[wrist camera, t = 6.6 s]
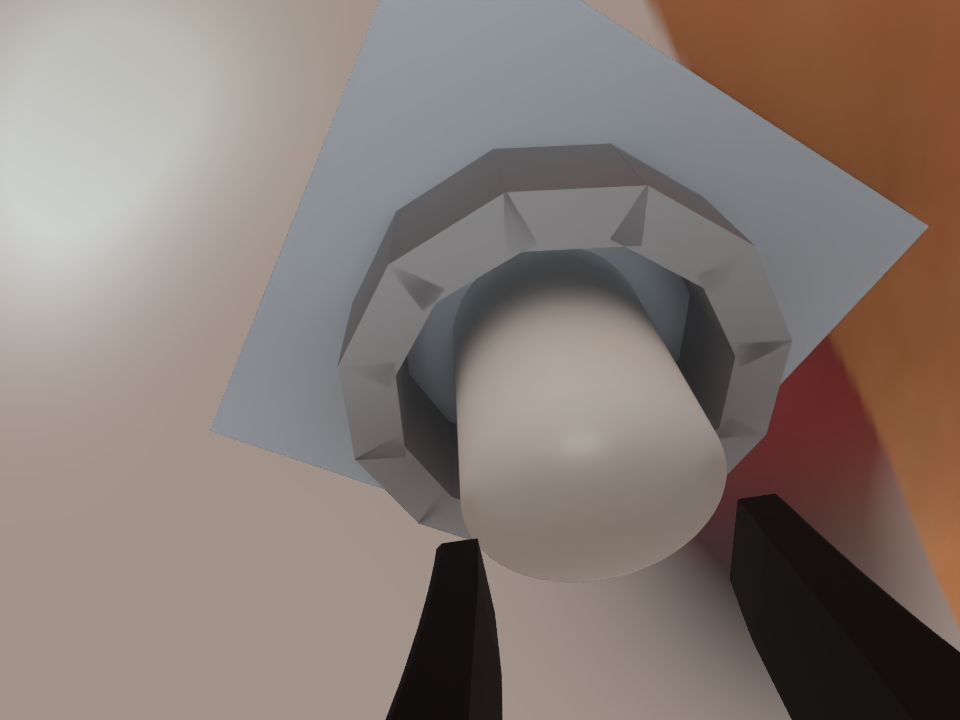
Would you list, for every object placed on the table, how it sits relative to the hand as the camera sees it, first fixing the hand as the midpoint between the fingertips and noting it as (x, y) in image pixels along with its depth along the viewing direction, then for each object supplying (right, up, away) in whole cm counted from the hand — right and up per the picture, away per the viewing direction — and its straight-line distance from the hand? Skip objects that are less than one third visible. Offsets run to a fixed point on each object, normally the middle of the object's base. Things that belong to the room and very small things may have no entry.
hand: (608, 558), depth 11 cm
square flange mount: (-1, +5, +7) cm, 8 cm away
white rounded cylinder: (0, +4, +6) cm, 7 cm away
